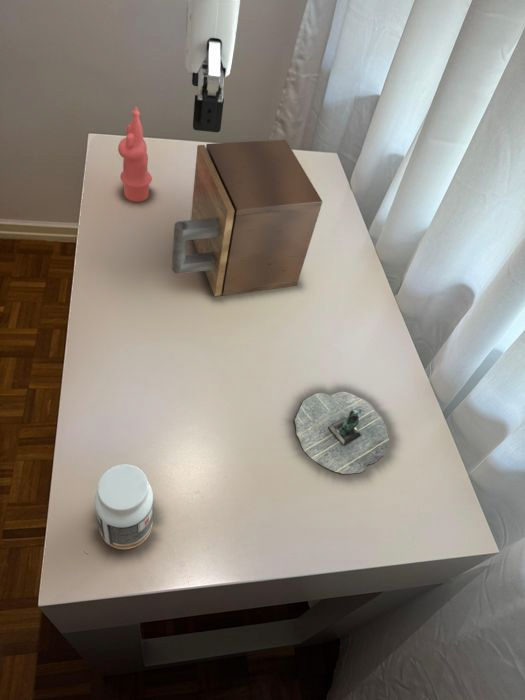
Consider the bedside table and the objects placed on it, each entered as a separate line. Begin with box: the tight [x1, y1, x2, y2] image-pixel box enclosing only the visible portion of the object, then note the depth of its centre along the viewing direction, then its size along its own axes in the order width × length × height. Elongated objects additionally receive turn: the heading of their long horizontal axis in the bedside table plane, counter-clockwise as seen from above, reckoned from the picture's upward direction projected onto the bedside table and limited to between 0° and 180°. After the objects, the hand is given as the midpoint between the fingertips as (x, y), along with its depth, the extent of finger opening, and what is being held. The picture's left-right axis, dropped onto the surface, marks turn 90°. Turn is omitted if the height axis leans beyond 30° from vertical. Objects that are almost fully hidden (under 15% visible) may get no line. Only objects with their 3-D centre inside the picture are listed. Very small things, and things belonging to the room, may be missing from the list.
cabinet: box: [205, 139, 323, 297], centre depth 84 cm, size 12×14×16 cm
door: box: [171, 144, 235, 297], centre depth 81 cm, size 7×14×16 cm, turn 19°
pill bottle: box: [93, 463, 154, 550], centre depth 58 cm, size 6×6×10 cm
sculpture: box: [294, 391, 390, 475], centre depth 73 cm, size 12×9×8 cm
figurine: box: [117, 106, 153, 203], centre depth 89 cm, size 5×5×15 cm
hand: (205, 107), depth 70 cm, fingers open, 9 cm apart
